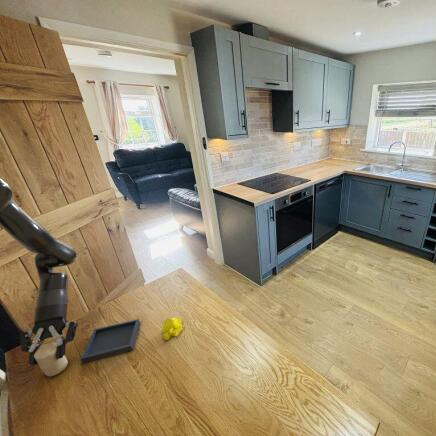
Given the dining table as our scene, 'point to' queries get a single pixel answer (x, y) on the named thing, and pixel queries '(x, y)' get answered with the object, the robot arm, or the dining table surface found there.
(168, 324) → the crumpled paper
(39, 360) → the candle
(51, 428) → the dining table surface
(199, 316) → the dining table surface
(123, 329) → the tray
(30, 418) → the dining table surface
